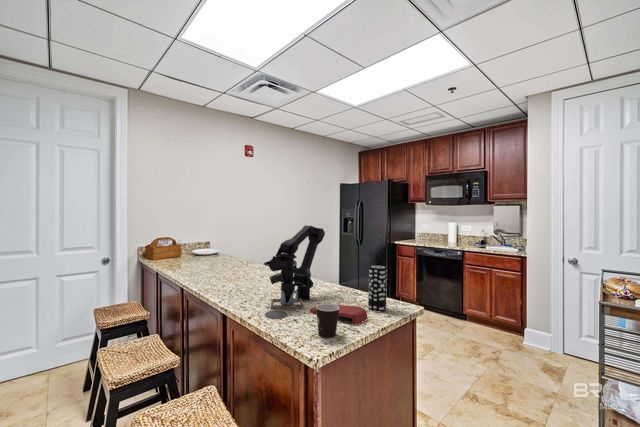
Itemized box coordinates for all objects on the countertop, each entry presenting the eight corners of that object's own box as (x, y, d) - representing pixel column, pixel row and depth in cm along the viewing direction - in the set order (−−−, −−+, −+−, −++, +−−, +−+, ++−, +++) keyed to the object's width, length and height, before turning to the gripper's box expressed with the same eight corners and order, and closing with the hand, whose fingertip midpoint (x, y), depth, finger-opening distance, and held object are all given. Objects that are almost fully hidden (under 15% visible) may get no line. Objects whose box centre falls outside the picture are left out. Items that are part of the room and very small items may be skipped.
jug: (297, 302, 147) (297, 286, 147) (298, 306, 141) (298, 289, 141) (280, 302, 146) (280, 286, 146) (280, 306, 140) (281, 289, 140)
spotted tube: (387, 308, 142) (388, 266, 142) (383, 313, 134) (384, 269, 134) (370, 305, 145) (371, 264, 145) (366, 310, 138) (367, 267, 138)
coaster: (287, 310, 135) (287, 310, 135) (288, 318, 125) (288, 317, 125) (265, 311, 133) (265, 310, 133) (264, 319, 123) (264, 318, 123)
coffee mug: (336, 340, 104) (337, 312, 104) (313, 337, 106) (313, 310, 106) (341, 328, 116) (341, 302, 116) (319, 325, 117) (320, 300, 117)
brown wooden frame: (301, 300, 151) (301, 298, 151) (303, 308, 139) (303, 305, 139) (271, 301, 148) (271, 298, 148) (270, 309, 136) (271, 306, 136)
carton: (308, 320, 134) (354, 326, 118) (307, 309, 135) (352, 314, 118) (325, 313, 143) (370, 318, 127) (324, 303, 144) (368, 307, 128)
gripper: (271, 264, 152) (270, 295, 152) (270, 272, 133) (269, 306, 133) (293, 264, 153) (292, 295, 153) (295, 272, 135) (294, 306, 135)
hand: (286, 300), depth 144 cm, fingers closed on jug, 6 cm apart
